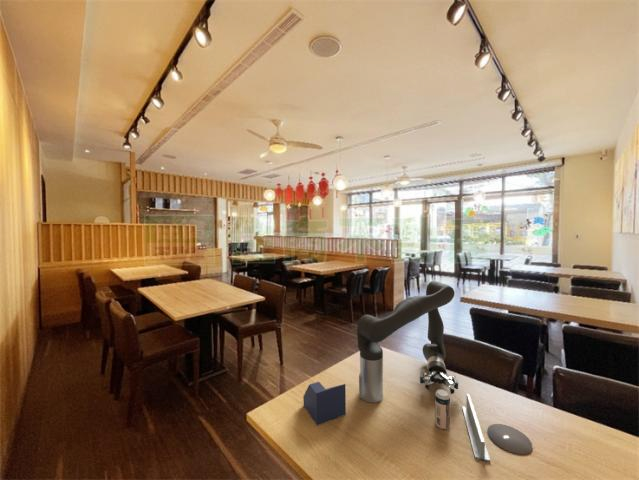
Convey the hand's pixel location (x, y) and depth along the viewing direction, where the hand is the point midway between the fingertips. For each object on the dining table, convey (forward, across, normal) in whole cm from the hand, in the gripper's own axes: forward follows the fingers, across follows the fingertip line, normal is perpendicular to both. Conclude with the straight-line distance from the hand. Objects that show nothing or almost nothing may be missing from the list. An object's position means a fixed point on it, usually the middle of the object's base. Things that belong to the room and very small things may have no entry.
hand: (439, 389), depth 106 cm
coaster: (+11, +20, +6) cm, 24 cm away
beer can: (+11, 0, +7) cm, 13 cm away
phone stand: (+16, -42, +7) cm, 45 cm away
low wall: (+11, +10, +6) cm, 16 cm away
